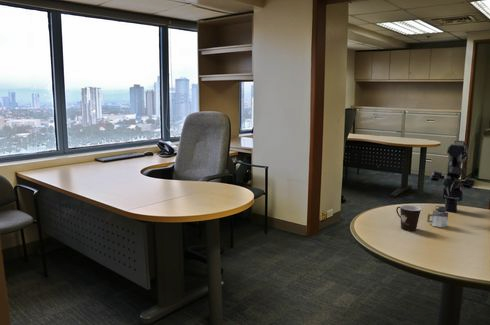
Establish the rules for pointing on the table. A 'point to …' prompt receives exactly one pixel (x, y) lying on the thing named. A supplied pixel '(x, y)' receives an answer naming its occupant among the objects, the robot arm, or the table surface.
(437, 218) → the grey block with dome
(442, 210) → the plunger
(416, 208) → the coffee mug
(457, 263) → the table surface
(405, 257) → the table surface
